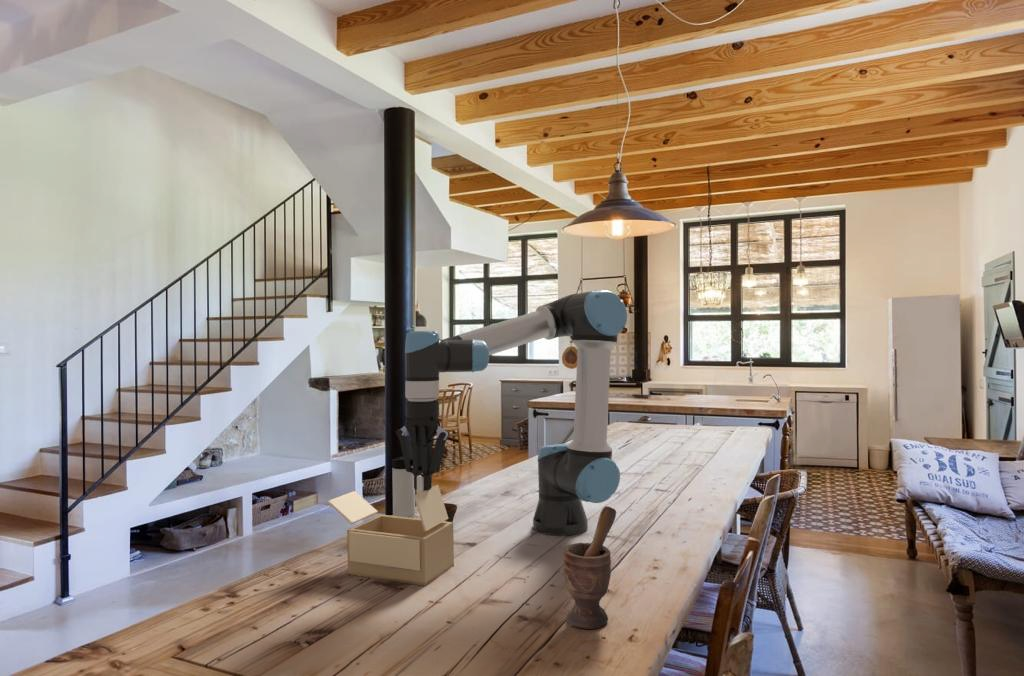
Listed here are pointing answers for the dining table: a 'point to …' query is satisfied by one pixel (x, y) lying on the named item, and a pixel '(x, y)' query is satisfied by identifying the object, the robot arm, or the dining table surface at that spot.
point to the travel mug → (402, 490)
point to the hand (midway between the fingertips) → (422, 504)
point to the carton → (400, 550)
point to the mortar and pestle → (589, 575)
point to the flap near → (431, 507)
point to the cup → (450, 511)
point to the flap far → (352, 507)
